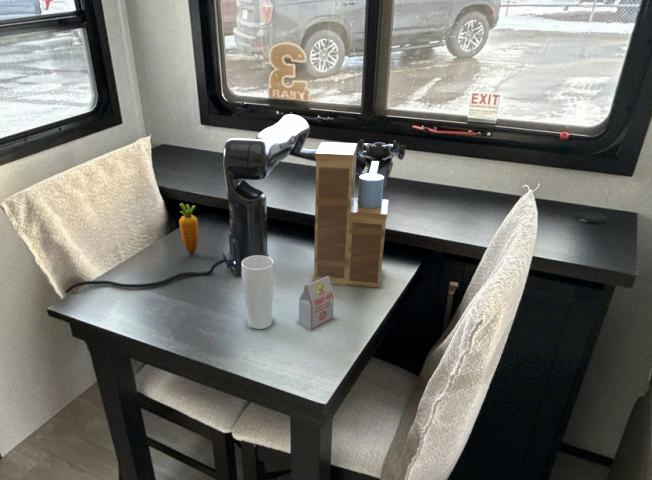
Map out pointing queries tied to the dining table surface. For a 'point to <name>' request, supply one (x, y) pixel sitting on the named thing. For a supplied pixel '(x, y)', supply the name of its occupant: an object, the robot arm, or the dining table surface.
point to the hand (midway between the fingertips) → (378, 144)
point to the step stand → (345, 222)
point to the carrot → (189, 229)
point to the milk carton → (316, 303)
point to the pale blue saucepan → (371, 188)
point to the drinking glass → (258, 290)
